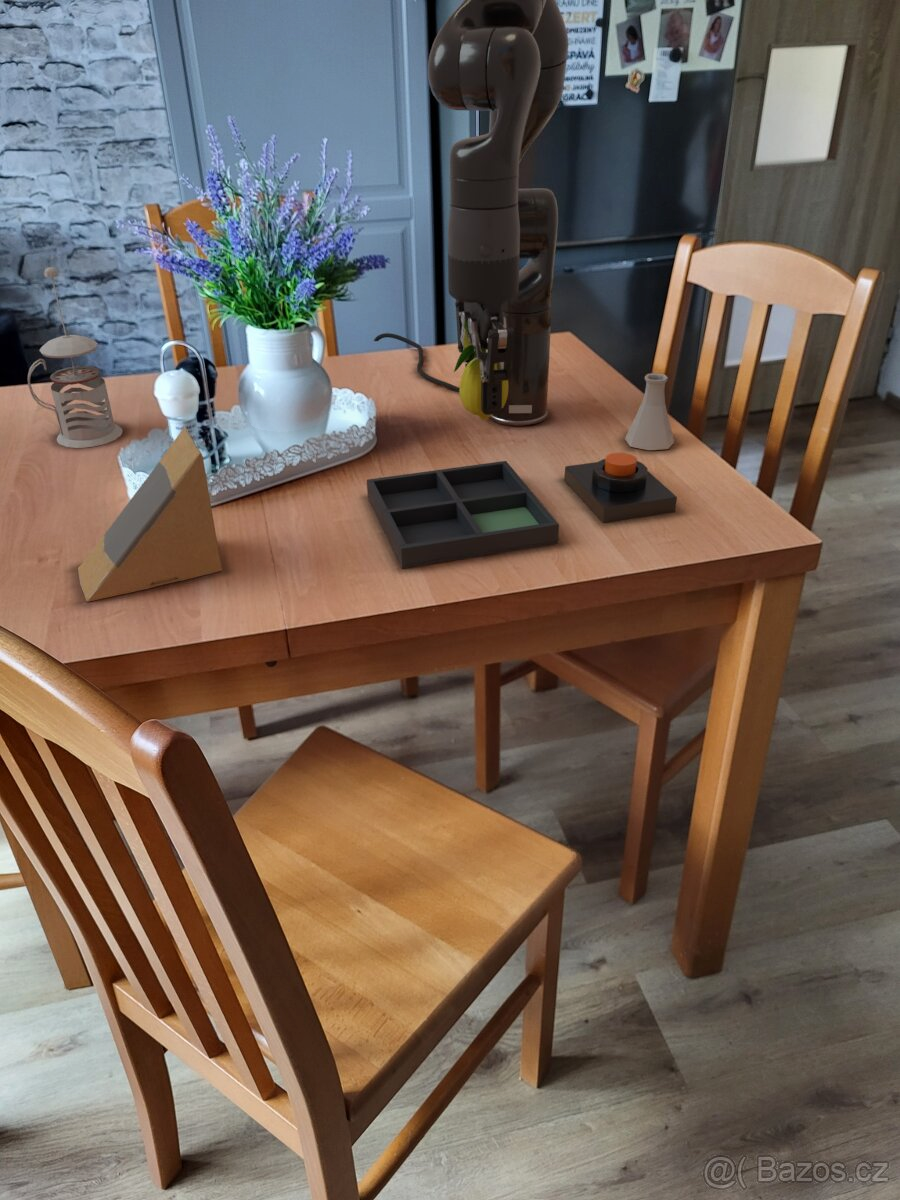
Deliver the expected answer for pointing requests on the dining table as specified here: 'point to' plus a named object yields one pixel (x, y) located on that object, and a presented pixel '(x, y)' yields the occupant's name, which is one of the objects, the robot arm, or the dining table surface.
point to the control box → (619, 492)
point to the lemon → (474, 384)
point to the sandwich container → (158, 530)
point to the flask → (652, 418)
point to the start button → (620, 464)
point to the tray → (459, 514)
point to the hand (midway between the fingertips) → (483, 402)
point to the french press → (81, 424)
